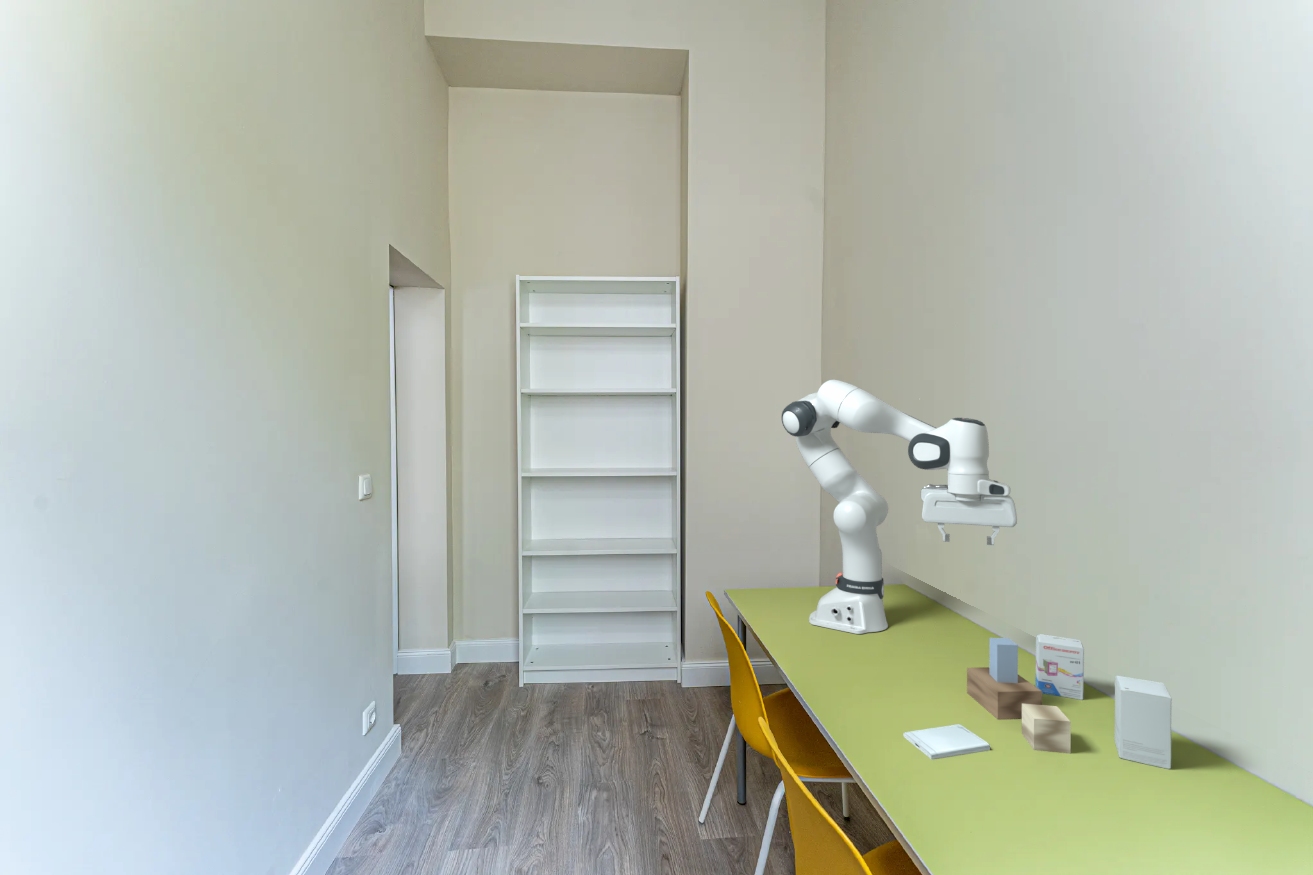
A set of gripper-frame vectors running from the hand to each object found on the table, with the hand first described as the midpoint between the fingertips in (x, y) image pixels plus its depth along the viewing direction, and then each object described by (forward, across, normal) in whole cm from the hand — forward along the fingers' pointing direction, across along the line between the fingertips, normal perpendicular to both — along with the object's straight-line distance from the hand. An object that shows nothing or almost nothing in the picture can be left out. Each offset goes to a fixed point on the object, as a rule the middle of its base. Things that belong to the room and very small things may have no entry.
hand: (968, 543), depth 146 cm
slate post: (+26, +7, -16) cm, 31 cm away
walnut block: (+32, +7, -16) cm, 36 cm away
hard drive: (+32, -4, -38) cm, 50 cm away
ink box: (+31, +18, -4) cm, 36 cm away
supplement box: (+31, +28, -27) cm, 50 cm away
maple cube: (+31, +13, -30) cm, 45 cm away
